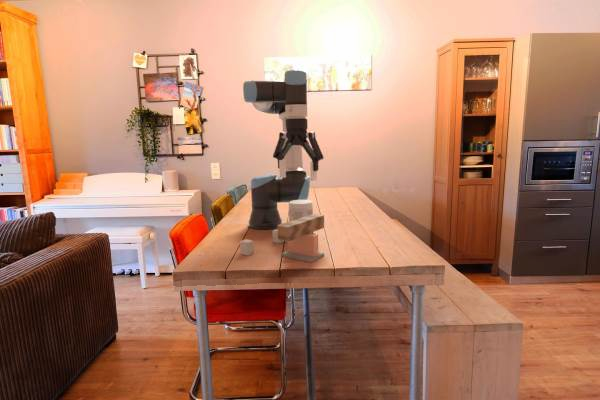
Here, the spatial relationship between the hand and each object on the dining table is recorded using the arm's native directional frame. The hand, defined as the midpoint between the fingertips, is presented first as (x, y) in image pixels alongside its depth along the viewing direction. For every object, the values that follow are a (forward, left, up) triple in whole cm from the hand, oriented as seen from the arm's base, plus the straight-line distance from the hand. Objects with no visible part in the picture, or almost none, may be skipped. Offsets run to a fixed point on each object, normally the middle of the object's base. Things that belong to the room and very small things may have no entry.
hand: (297, 179), depth 128 cm
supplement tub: (-7, +10, -25) cm, 28 cm away
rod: (+7, -8, -17) cm, 20 cm away
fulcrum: (+7, -8, -25) cm, 27 cm away
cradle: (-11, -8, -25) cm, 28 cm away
